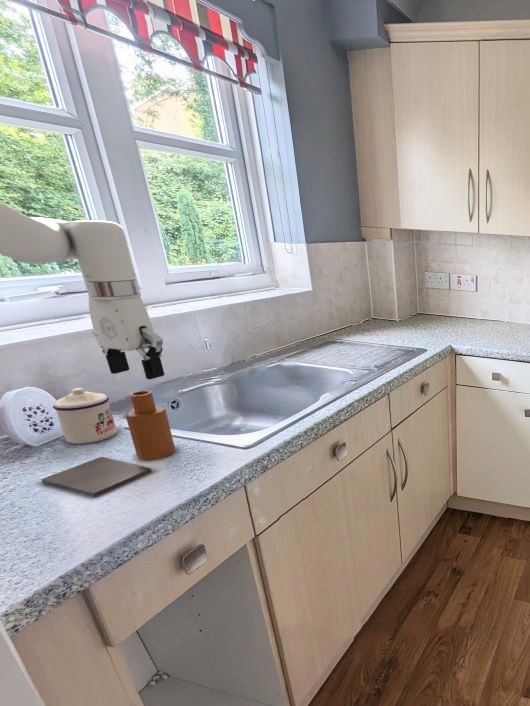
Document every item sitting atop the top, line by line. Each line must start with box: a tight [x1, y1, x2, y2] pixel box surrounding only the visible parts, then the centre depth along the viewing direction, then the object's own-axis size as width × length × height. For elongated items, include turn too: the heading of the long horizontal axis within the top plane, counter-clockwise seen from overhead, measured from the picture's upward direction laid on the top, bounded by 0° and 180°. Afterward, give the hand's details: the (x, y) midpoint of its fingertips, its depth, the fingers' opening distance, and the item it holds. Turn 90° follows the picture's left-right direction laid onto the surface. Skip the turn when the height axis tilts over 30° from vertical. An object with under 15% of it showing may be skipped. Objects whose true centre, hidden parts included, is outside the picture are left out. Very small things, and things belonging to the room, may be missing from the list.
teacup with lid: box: [52, 387, 118, 445], centre depth 104 cm, size 12×9×12 cm
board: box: [41, 456, 153, 498], centre depth 88 cm, size 14×10×1 cm
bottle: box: [124, 390, 176, 461], centre depth 96 cm, size 6×6×14 cm
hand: (138, 374), depth 93 cm, fingers open, 9 cm apart
